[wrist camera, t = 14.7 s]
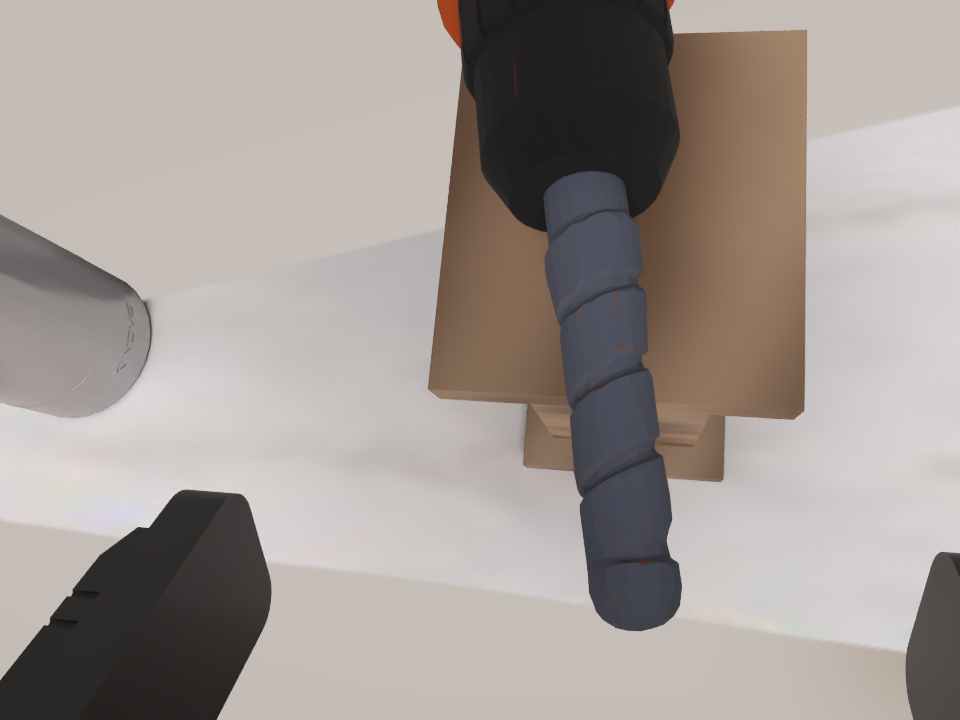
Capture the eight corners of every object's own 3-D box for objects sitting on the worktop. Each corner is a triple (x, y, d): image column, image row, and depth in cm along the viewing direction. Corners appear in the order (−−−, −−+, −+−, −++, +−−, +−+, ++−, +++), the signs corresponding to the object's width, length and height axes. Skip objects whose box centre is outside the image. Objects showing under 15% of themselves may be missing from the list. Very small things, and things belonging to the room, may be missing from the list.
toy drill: (543, 661, 20) (283, 640, 6) (489, 36, 26) (310, -656, 13) (755, 645, 19) (1036, 579, 5) (642, 6, 26) (631, -763, 12)
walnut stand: (526, 467, 44) (427, 389, 23) (542, 272, 47) (464, 39, 26) (720, 482, 42) (804, 410, 21) (726, 277, 45) (807, 29, 24)
